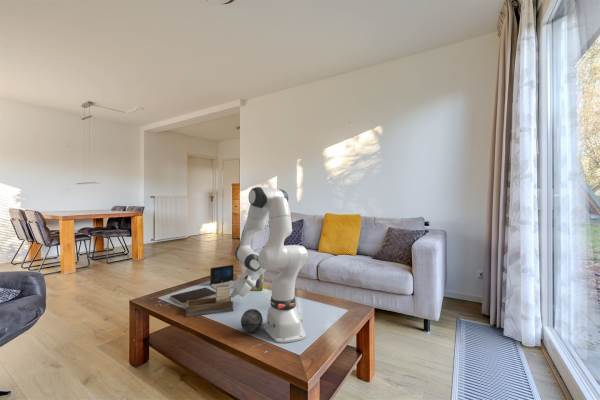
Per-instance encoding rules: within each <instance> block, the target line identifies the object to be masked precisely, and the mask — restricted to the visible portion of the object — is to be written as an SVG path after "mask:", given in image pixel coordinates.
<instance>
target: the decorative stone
mask: <svg viewBox="0 0 600 400" xmlns="http://www.w3.org/2000/svg"><path fill="white" fill-rule="evenodd" d="M263 320H264V319H263V316H262V313H261V312H260V311H259V310H258V309H255V308H250V309H247V310H246V311H245V312H243V314H242V316H241V318H240V325H241V328H242V329H243V330H244V331H245V332H248V333H255V332H258V331H259V330H260V328H261V327H262V325H263Z"/></svg>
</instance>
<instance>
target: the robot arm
mask: <svg viewBox="0 0 600 400" xmlns="http://www.w3.org/2000/svg"><path fill="white" fill-rule="evenodd" d="M248 202H249V207H248V212H247V218H246V222H245V223H244V226H243V228H242V229H243V230H242V233H241V237H240V240H239V244H238V245H237V248H236V249H235V252H234V256H235V258H236V260H238V262H240V263H241V264H242V265H243V267H244V268H246V269H245V270H244V272H243V273H242V274H241V275H240V276H239V277H238V278H237V279H236V280H235V282H234V286H235V287H234V289H233V290H232V292H230V296H231V299H234V298H235V297H236V296H238V295H239V296H240V297H241V298H243V297H245V296H246V295H247V294H248V293H249V292H250V290H251V288H252V287H255V285H256V281H257V280H258V279H259V277H260V276H261V275H262V274H263V273H264V274H265V272H266V271H276V270H280V272H279V274H278V275H277V276H275V277H274V278H273V279H272V282H271V297H270V307H269V309H268V310H267V312H266V313H267V314H266V324H265V325H264V326H263V328H262V330H264V331H265V332H266V333H267V335H269V337H271V339H273V340H274V341H275V342H277V343H282V344H284V343H294V342H297V341H301V340H304V339H306V338H307V335H306V332H305V328H304V327H303V324H302V323H303V320H304V319H303V316H300V311H298V308H297V302H296V301H297V300H296V296H295V292H296V291H295V290H296V289H295V287H296V280H297V277H298V275H299V273H300V271H301V269H302V268H303V266H304V265H306V264H307V262H308V259H309V253H308V250H307V249H306V248H305V246H303V245H298V244H290V245H288V244H287V245H285V240H286V239H287V238H288V237H289V236H291V235H292V232H293V224H292V216H291V210H290V205H289V195H288V193H287V191H285V190H283V189H279V188H278V189H277V188H274V187H273V188H272V187H265V186H264V187H260V186H257V187H256V186H255V187H252V188H251V190H250V191H249V193H248ZM267 220H268V223H269V224H268V225H269V235H268V240H267V242H266V244H265V245H264V247H262V248H261V250H260V251H259V253H258V252H256V251H254V250H253V249H252V245H251V243H252V239H253V236H254V233H255V232H261V231H262V230H264V229H265V227H266V224H267ZM251 291H252V290H251Z"/></svg>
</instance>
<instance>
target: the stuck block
mask: <svg viewBox="0 0 600 400" xmlns="http://www.w3.org/2000/svg"><path fill="white" fill-rule="evenodd" d="M215 292H216V296H215V297H216V303H221V302H230V296H231V295H230V294H231V288H230V287H229V285H219V286H216V289H215Z"/></svg>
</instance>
